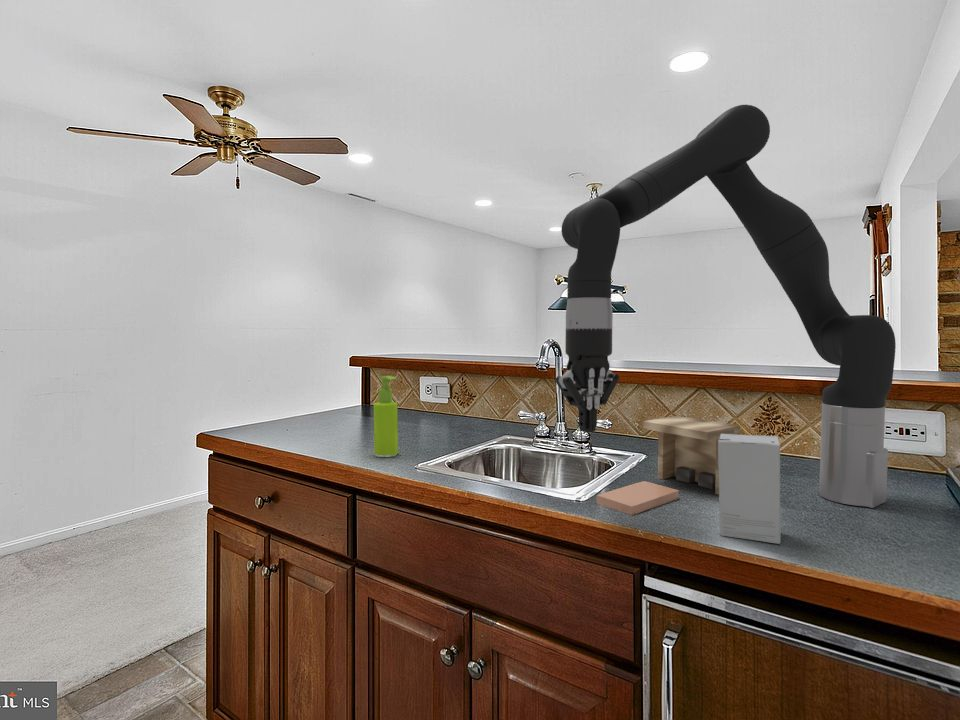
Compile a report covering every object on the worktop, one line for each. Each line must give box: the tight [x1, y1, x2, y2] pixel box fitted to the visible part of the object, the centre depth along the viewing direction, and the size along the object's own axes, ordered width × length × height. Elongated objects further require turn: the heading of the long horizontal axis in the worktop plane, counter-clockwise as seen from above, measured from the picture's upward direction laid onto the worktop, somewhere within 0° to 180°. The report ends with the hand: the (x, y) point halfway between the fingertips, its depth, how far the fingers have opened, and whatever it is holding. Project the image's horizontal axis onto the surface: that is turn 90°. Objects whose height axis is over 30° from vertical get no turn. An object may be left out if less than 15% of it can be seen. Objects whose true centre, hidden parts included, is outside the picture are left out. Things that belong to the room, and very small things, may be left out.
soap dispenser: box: [373, 375, 399, 455], centre depth 128 cm, size 6×7×20 cm
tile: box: [596, 480, 680, 516], centre depth 93 cm, size 8×14×2 cm, turn 127°
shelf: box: [642, 415, 741, 496], centre depth 101 cm, size 14×11×12 cm
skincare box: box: [718, 434, 782, 545], centre depth 77 cm, size 8×6×15 cm
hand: (587, 431), depth 85 cm, fingers closed
